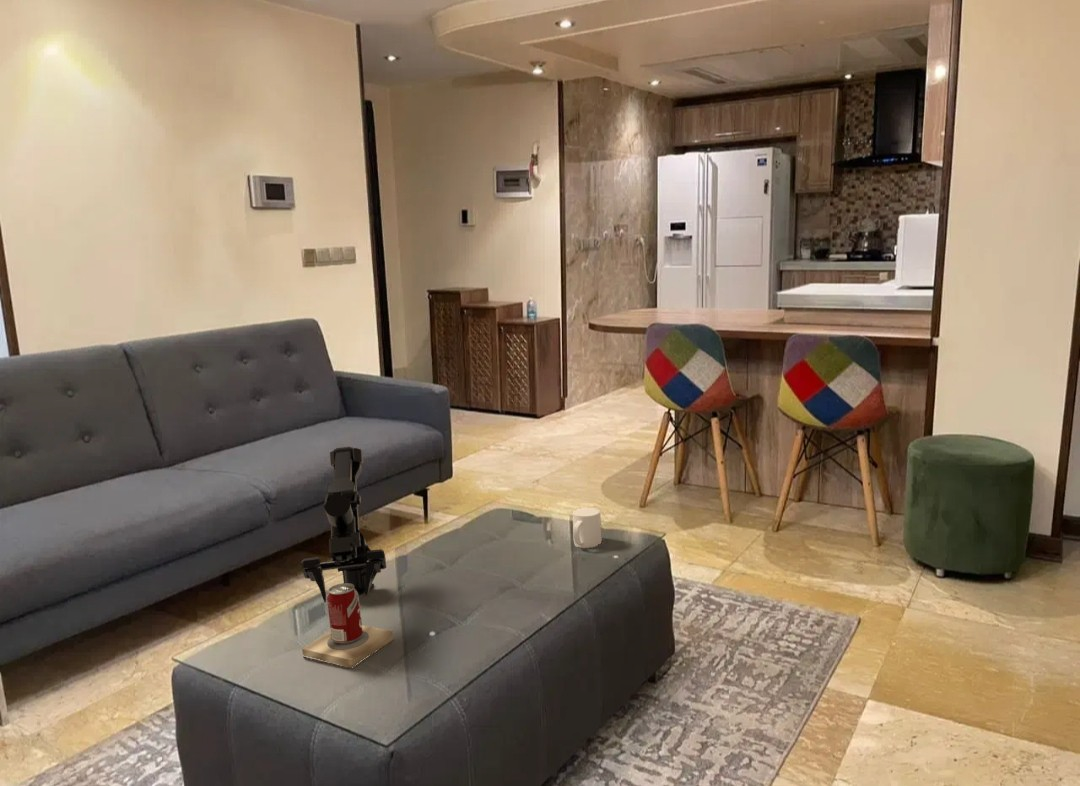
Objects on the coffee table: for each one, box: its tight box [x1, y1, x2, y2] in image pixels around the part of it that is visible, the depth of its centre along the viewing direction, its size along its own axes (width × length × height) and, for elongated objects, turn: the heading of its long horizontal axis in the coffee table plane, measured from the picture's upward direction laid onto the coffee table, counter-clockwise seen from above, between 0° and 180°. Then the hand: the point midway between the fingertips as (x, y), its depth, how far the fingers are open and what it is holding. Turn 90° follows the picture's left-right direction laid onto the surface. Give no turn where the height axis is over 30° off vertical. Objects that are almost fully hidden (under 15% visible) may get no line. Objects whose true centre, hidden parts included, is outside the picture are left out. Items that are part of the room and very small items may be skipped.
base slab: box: [301, 625, 395, 669], centre depth 179 cm, size 14×14×2 cm
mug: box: [572, 507, 603, 549], centre depth 233 cm, size 12×9×8 cm
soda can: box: [326, 582, 363, 644], centre depth 178 cm, size 7×7×12 cm
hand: (345, 598), depth 182 cm, fingers open, 9 cm apart
